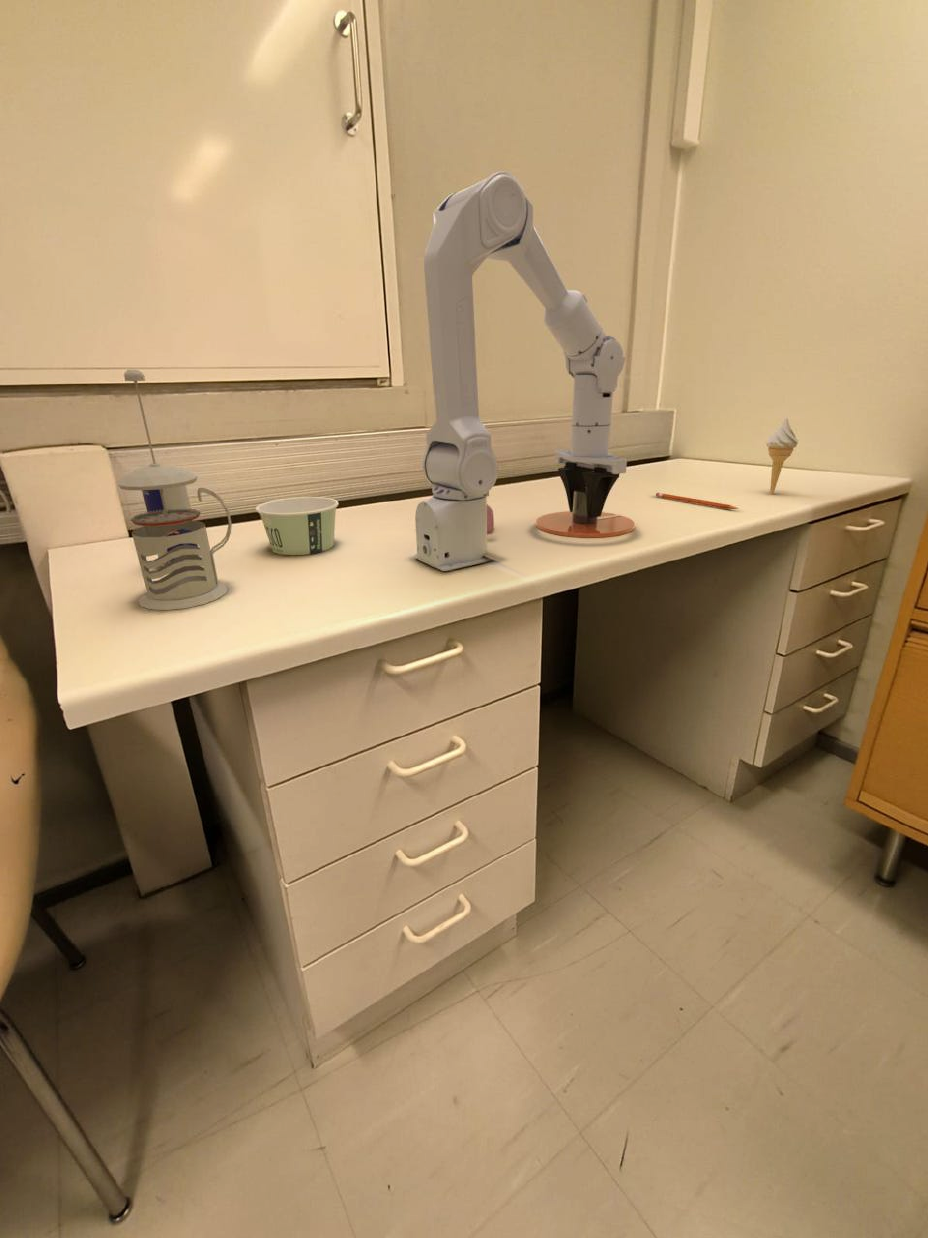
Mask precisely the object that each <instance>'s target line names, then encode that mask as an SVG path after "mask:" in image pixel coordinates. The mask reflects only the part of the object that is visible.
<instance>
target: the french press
mask: <svg viewBox="0 0 928 1238" xmlns="http://www.w3.org/2000/svg"><path fill="white" fill-rule="evenodd" d="M123 375H124V381H125V382H133V383H134V385H135V389H136V394H137V398H138V403H139V408H140V412H141V416H142V421H143V424H144V428H145V429H144V430H145V434H146V437H147V443H148V446H149V450H150V455H151V459H152V463H150V464H149V465H147V466H142V467H138V468H137V469H134V470H133V471H131V472H129V473H128V474H125V475H124V476H123V477H121V478H120V479H119V480H118V481H116V484H117V486H118V487H119V488H120V489H121V490H125V491H142V490H157V489H159V490H160V494H161V499H162V503H163V507H164V510H162V511H161V510H159V511H158V510H156V512H155V511H153V512H152V511H151V512H152V513H151V512H148V513H147V511H145V512H144V513H142V512H141V513H139V514H137V515H134V516H133V517H132V518H131V519H130V521H131V522H132V523H133V524H134V525H136V526H141V527H139V528H136V529H134V530H132V532H131V537H132V539H133V543H134V548H135V552H136V555H137V559H138V563H139V567H140V570H141V574H142V579H143V582H144V586H145V589H146V592H145V593H143V595H142V596H141V598H140V599H139V601H138V603H139V604H140V607H142V608H145V609H148V610H156V611H173V610H183V609H188V608H192V607H193V608H194V607H197V606H202V605H205V604H207V603H208V604H209V603H211V602H213V601H216V600H219V598H222V597H223V596H225V595H226V593H227V591H228V590H229V588H228V587H227V586H226V585H225V584H224V583H223V582H222V581H220V580H219V578H218V573H217V568H216V563H215V559H214V554H215V553H216V552H217V551H219V550H221V549H222V548H224V546H225V545H226V544H227V543H228V541H229V540H230V536H231V534H232V527H233V522H232V518H231V513H230V510H229V508H228V506H227V504H226V503H225V501H224V500H223V498H222V497H221V496H220V495H219V494H217V493H216V492H214V491H213V490H210V489H208V488H205V487H199V488H198V489H197V493H196V494H197V498H198V501H199V502H200V503H202V502H203V501H202V493H204V494H207V495H210V496H212V497H213V498H215V499H216V500H218V502H219V504H221V506H222V507H223V508H224V510H225V512H226V515H227V519H228V520H227V521H228V525H227V531H226V534H225V536H224V537H223V538H222V539H221V541H219V542H218V543H217V544H215V545H213V546H212V547H211V546H210V543H209V542H210V541H209V537H208V533H207V527H206V524H205V523H204V522H203V521H198V520H196V519H198V518H199V517H200V516H201V511H199V510H198V509H195V508H191V509H189V508H187V509H186V508H185V510H184V508H183V509H181V508H180V509H179V508H178V510H176V509H175V510H173V509H172V510H170V509H169V510H167V509H166V507H165V502H164V498H163V494H162V489H166V488H174V487H180V486H185V485H186V486H189V485H192V484H195V483H196V482H197V481H198V478H199V477H198V475H196V474H195V473H193V472H191V471H190V470H188V469H185V468H182V467H177V466H173V465H168V464H160V463H158V462H156V459H155V454H154V450H153V447H152V442H151V438H150V437H151V436H150V433H149V428H148V425H147V421H146V416H145V412H144V408H143V407H144V406H143V403H142V399H141V398H142V397H141V394H140V389H139V385H138V382H145V381H146V377H145V374H144V373H143V372H142V371H141V370H139V369H137V368H136V369H135V368H131V369H127V370H126V371H125V372H124V374H123ZM157 511H158V512H157ZM191 520H193V521H191ZM180 529H185V530H190V531H193V532H189V533H185V534H180V535H174V536H166V535H168V534H169V533H171V532H174V531H177V530H180ZM165 536H166V537H165ZM184 543H193V544H199V548H198V547H196V546H192V545H186V544H185V545H181V546H177V547H175V548H173V549H172V550H170V551H169V552H167V553H166V554H164V555H163V556H161V557H159V558H158V557H156V558H155V559H153V560H148V559H147V558H148V557H152V556H158V554H159V553H161V552H162V551H164V550H166V549H168V548H169V547H172V546H175V545H178V544H184ZM182 555H183V556H182ZM195 555H200V556H201V557H199V556H195ZM174 558H175V559H174ZM171 559H174V560H172V561H171V562H169V563H168V564H167V565H165V566H163V567H162V566H160V565H162V564H164V563H166V562H168V561H170V560H171ZM158 567H160V568H158ZM153 568H157V569H156V570H150V569H153ZM155 579H157V580H155Z"/></svg>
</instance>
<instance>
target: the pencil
mask: <svg viewBox="0 0 928 1238" xmlns="http://www.w3.org/2000/svg"><path fill="white" fill-rule="evenodd" d="M655 497H656V498H657V497H658V498H664V499H668V500H675V501H681V502H686V503H691V504H692V503H693V504H697V505H698V504H699V505H704V506H710V507H714V508H721V509H727V510H740V508H738V507H737V506H734V505H732V504H727V503H721V502H716V501H709V500H704V499H698V498H691V497H686V496H680V495H673V494H669V493H668V494H667V493H662V492H656V493H655Z"/></svg>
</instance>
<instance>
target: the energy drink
mask: <svg viewBox="0 0 928 1238" xmlns="http://www.w3.org/2000/svg"><path fill="white" fill-rule="evenodd" d="M141 493H142V497H143V500H144V504H145V509H146V512H147V513H148V512H151V511H152V512H153V511H155V512H156V510H158V511H159V510H161V511H162V510H164V507H163V503H162V499H161V494H160V490H159V489H157V490H141ZM162 494H163V498H164V502H165V507H166V509H167V510H169V509H170V510H172V509H173V510H175V509H176V510H178V508H179V509H180V508H181V509H183V508H184V510H185V508H186V509H187V508H189V509H192V508H191V503H190V497H189V494H188V488H187V485H185V486H180V487H174V488H166V489H162ZM158 511H157V512H158ZM152 512H151V513H152ZM147 513H146V514H147ZM191 521H194V520H191ZM189 532H193V531H190V530H185V529H180V530H177V531H174V532H171V533H169V534H168V535H166V536H174V535H180V534H185V533H189ZM166 536H165V537H166ZM185 544H186V545H192V546H196V547H198V548H199V544H193V543H184V544H178V545H175V546H172V547H169V548H168V549H166V550H164V551H162V552H161V553H159V554H157V558H159V557H161V556H163V555H164V554H166V553H167V552H169V551H170V550H172V549H173V548H175V547H177V546H181V545H185ZM182 556H183V555H182ZM195 556H199V557H201V556H200V555H195ZM201 558H202V557H201ZM174 559H175V558H174ZM174 559H171V560H170V561H168V562H166V563H164V564H162V565H160V566H159V567H163V566H165V565H167V564H168V563H169V562H171V561H172V560H174Z"/></svg>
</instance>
